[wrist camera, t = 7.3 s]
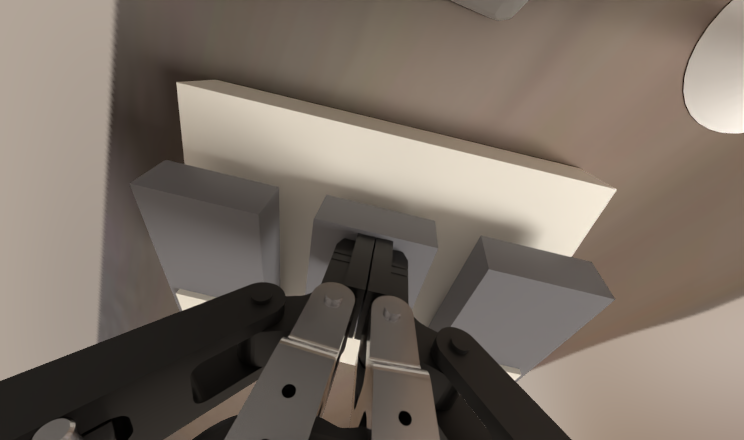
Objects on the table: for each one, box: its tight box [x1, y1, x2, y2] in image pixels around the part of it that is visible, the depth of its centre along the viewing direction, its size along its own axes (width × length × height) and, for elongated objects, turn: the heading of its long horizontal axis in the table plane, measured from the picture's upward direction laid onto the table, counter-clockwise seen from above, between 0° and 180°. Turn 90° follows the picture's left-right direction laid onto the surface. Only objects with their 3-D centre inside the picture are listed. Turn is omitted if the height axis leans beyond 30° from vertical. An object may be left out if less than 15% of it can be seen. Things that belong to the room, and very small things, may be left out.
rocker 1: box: [129, 160, 280, 311], centre depth 14 cm, size 9×5×2 cm, turn 168°
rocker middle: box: [305, 195, 438, 365], centre depth 15 cm, size 9×5×2 cm, turn 168°
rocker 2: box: [428, 235, 615, 382], centre depth 15 cm, size 9×5×2 cm, turn 168°
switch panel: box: [176, 80, 617, 327], centre depth 17 cm, size 15×20×4 cm
